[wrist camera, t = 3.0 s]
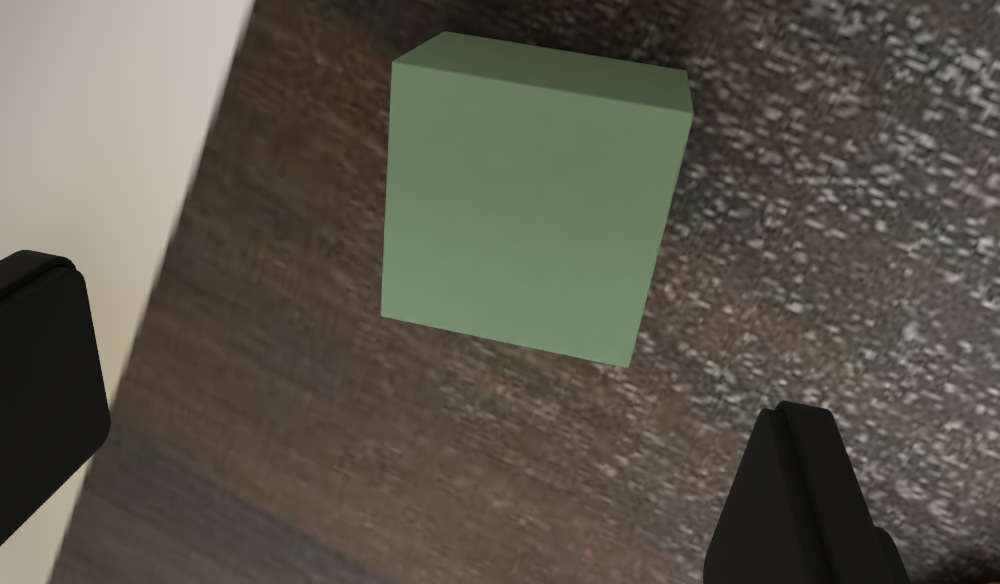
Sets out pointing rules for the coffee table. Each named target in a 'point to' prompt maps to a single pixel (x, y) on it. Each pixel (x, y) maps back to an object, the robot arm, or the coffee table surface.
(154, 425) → the coffee table surface
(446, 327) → the green block
